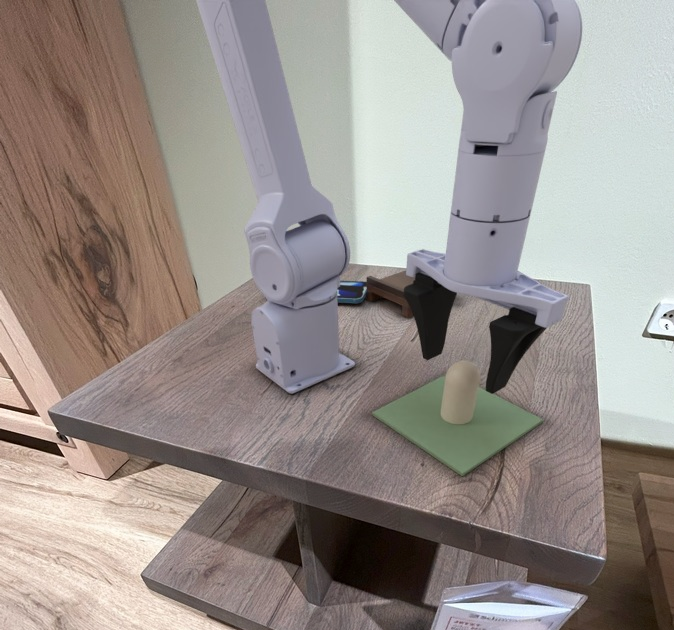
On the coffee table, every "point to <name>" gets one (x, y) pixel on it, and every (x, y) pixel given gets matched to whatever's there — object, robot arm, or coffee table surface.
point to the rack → (390, 290)
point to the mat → (457, 426)
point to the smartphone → (351, 291)
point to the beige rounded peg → (460, 392)
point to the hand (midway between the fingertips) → (462, 371)
